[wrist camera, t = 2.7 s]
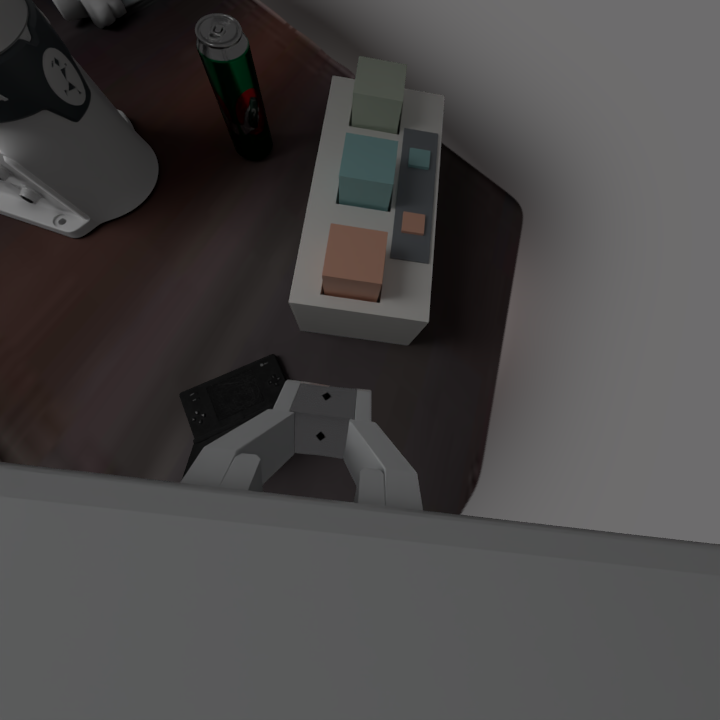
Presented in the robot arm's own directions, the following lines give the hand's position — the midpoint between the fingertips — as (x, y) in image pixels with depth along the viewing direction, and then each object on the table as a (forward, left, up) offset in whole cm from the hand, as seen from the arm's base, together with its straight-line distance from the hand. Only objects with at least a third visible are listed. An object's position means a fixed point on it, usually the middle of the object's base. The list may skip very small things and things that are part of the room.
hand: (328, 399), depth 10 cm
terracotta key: (0, +13, -15) cm, 20 cm away
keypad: (+1, +23, -22) cm, 32 cm away
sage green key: (0, +33, -15) cm, 37 cm away
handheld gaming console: (-10, -1, -22) cm, 24 cm away
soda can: (-16, +34, -22) cm, 44 cm away
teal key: (0, +23, -15) cm, 28 cm away
